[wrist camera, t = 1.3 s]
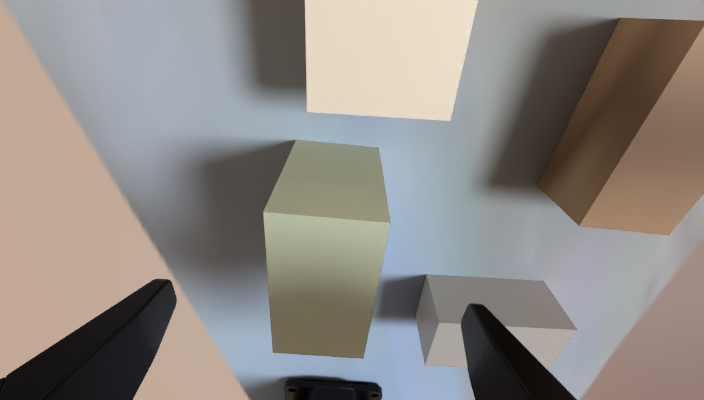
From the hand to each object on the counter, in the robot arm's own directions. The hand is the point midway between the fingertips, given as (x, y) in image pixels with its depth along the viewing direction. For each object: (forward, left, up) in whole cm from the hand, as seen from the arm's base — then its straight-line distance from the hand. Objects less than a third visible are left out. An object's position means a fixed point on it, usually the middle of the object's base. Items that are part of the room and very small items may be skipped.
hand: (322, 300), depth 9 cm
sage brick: (0, 0, -5) cm, 5 cm away
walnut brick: (+5, -10, -5) cm, 12 cm away
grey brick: (-5, -8, -5) cm, 11 cm away
